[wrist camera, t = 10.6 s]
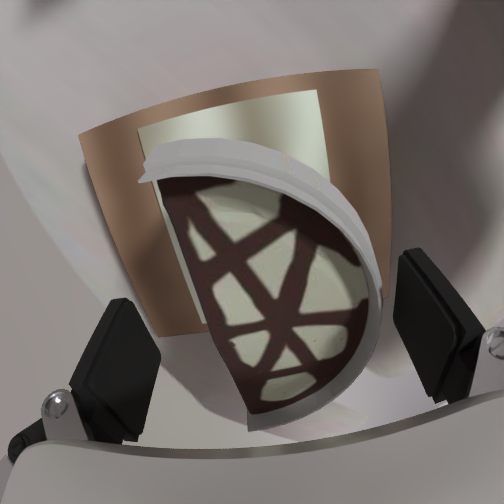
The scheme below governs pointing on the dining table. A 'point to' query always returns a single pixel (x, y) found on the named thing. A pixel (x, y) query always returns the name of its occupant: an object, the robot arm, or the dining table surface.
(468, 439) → the robot arm
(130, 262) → the plinth
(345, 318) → the food container
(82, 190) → the dining table surface
